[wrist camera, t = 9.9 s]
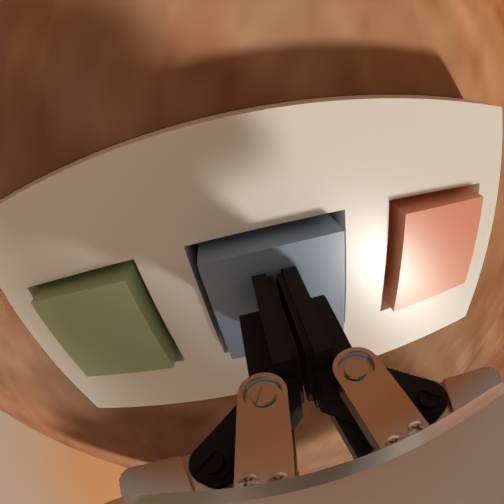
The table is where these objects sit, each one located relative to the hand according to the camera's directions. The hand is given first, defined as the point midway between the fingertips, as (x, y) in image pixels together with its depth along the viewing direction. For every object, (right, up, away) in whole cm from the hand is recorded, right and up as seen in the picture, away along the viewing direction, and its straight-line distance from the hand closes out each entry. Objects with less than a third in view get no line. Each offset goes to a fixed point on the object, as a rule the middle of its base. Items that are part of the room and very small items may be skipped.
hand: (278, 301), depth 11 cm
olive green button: (-8, 0, +3) cm, 8 cm away
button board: (0, +2, +3) cm, 4 cm away
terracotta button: (+8, +3, +3) cm, 9 cm away
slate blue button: (0, +1, +3) cm, 3 cm away
